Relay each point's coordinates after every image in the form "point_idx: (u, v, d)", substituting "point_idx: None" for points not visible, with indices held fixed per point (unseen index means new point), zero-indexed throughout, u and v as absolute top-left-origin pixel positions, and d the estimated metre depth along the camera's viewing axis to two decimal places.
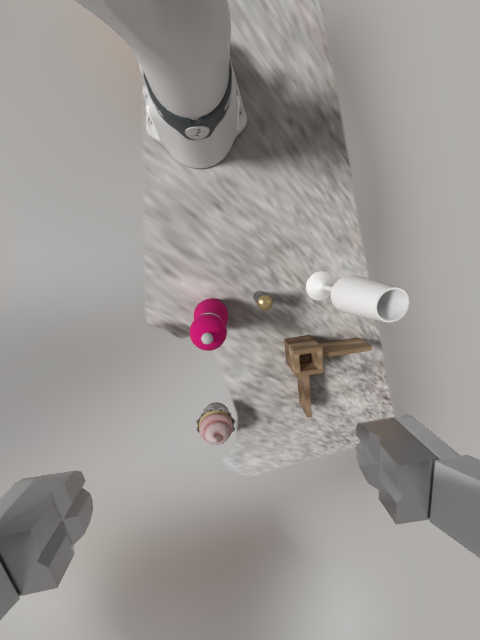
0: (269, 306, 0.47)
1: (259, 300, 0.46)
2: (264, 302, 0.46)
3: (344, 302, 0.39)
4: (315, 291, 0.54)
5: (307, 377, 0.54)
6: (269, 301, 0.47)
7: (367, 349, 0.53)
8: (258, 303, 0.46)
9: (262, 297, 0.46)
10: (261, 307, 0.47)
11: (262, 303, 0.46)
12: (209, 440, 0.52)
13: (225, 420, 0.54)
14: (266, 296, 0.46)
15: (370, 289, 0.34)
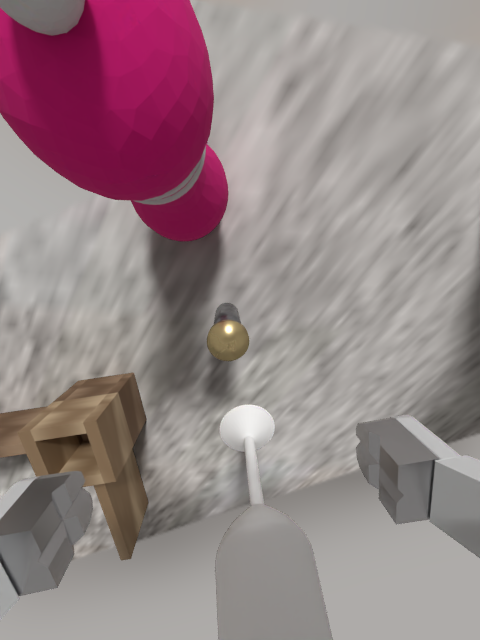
0: (218, 353, 0.17)
1: (235, 326, 0.17)
2: (229, 339, 0.17)
3: (261, 614, 0.12)
4: (239, 425, 0.28)
5: None
6: (231, 353, 0.17)
7: (121, 552, 0.25)
8: (226, 323, 0.17)
9: (243, 333, 0.17)
10: (215, 332, 0.17)
11: (226, 334, 0.17)
12: None
13: None
14: (245, 344, 0.17)
15: None
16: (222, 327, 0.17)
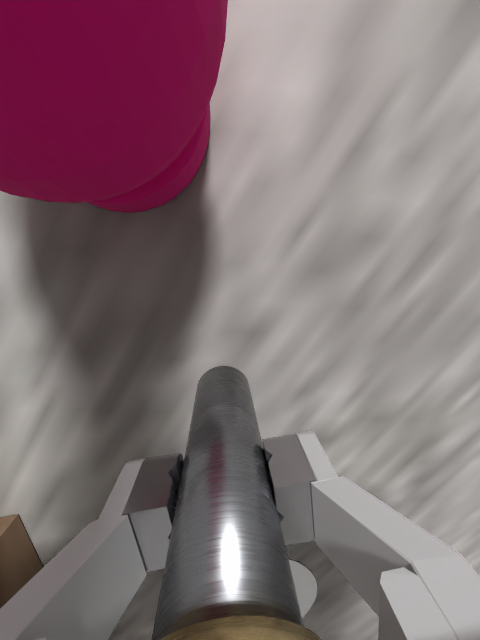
0: None
1: None
2: None
3: None
4: None
5: None
6: None
7: None
8: None
9: None
10: None
11: None
12: None
13: None
14: None
15: None
16: None
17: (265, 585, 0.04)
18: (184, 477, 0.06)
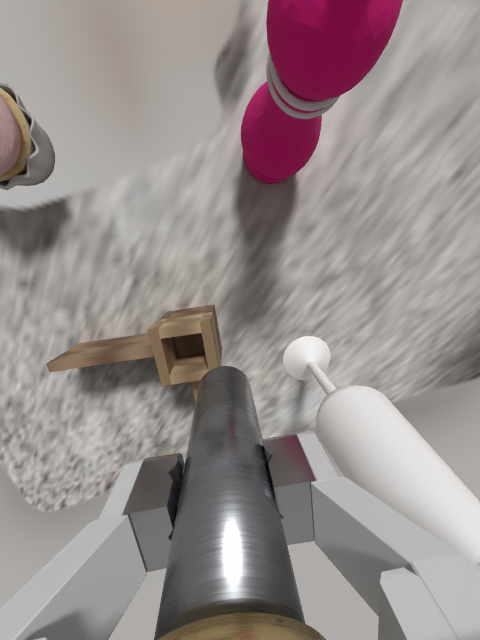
0: None
1: None
2: None
3: (376, 423, 0.16)
4: (302, 352, 0.32)
5: (145, 354, 0.26)
6: None
7: None
8: None
9: None
10: None
11: None
12: None
13: None
14: None
15: None
16: None
17: (267, 583, 0.04)
18: (186, 476, 0.06)
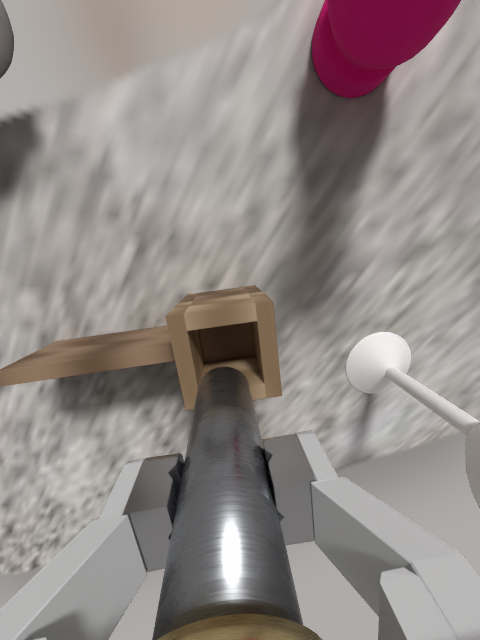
0: None
1: None
2: None
3: None
4: (378, 355, 0.22)
5: (157, 358, 0.16)
6: None
7: None
8: None
9: None
10: None
11: None
12: None
13: None
14: None
15: None
16: None
17: (265, 584, 0.04)
18: (185, 477, 0.06)
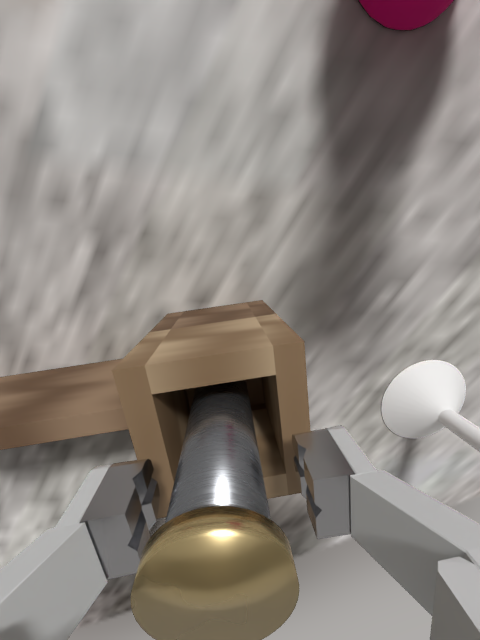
0: (180, 633, 0.04)
1: (245, 551, 0.04)
2: (222, 593, 0.04)
3: None
4: (427, 392, 0.17)
5: (111, 423, 0.10)
6: (228, 631, 0.05)
7: None
8: (210, 541, 0.04)
9: (277, 572, 0.04)
10: (164, 574, 0.04)
11: (211, 578, 0.04)
12: None
13: None
14: (285, 600, 0.04)
15: None
16: (192, 558, 0.04)
17: (244, 497, 0.05)
18: (186, 436, 0.07)
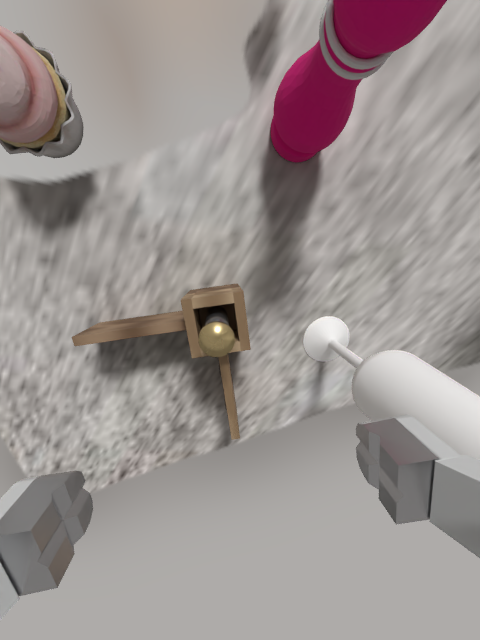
0: (208, 350, 0.20)
1: (222, 327, 0.20)
2: (218, 338, 0.20)
3: (422, 377, 0.17)
4: (323, 332, 0.32)
5: (173, 328, 0.25)
6: (219, 350, 0.20)
7: (232, 431, 0.29)
8: (215, 324, 0.20)
9: (229, 333, 0.20)
10: (205, 332, 0.20)
11: (215, 334, 0.20)
12: None
13: (38, 112, 0.20)
14: (232, 342, 0.20)
15: None
16: (211, 328, 0.20)
17: None
18: (206, 322, 0.23)
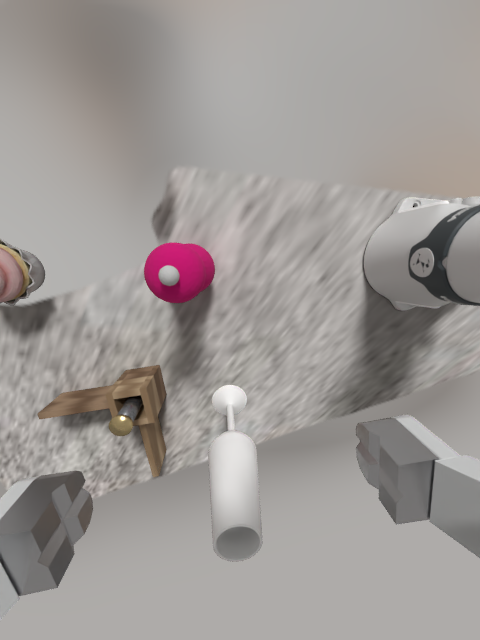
0: (115, 432, 0.32)
1: (123, 419, 0.32)
2: (121, 425, 0.32)
3: (226, 459, 0.29)
4: (224, 397, 0.45)
5: (105, 406, 0.38)
6: (122, 432, 0.33)
7: (153, 471, 0.42)
8: (119, 417, 0.32)
9: (128, 422, 0.32)
10: (113, 422, 0.32)
11: (119, 423, 0.32)
12: None
13: (10, 290, 0.32)
14: (130, 427, 0.33)
15: (254, 503, 0.25)
16: (116, 419, 0.32)
17: (126, 414, 0.33)
18: None
